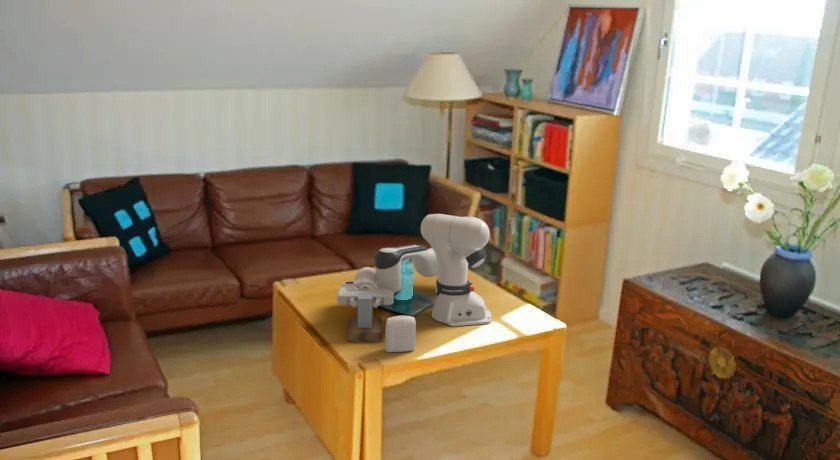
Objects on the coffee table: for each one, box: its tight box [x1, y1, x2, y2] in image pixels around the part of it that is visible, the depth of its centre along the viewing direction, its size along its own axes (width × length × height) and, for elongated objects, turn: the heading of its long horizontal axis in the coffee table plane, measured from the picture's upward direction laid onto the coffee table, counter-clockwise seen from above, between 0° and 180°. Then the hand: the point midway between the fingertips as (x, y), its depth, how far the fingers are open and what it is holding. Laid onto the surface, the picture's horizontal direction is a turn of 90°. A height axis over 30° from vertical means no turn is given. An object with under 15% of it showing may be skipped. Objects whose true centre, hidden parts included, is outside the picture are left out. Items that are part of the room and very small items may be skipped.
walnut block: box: [346, 317, 383, 343], centre depth 256 cm, size 12×12×4 cm
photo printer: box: [384, 315, 417, 353], centre depth 244 cm, size 10×4×12 cm, turn 103°
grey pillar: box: [357, 293, 373, 328], centre depth 254 cm, size 5×5×11 cm
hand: (365, 305), depth 253 cm, fingers open, 5 cm apart
